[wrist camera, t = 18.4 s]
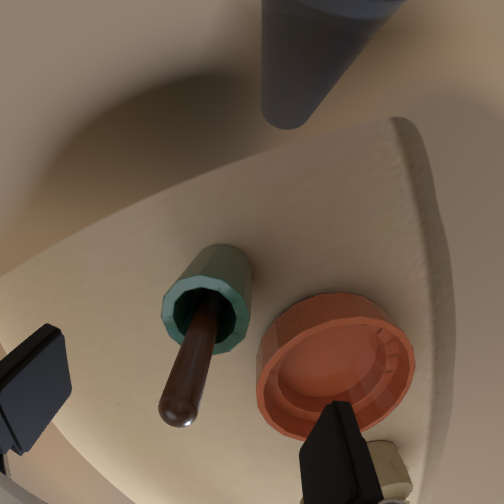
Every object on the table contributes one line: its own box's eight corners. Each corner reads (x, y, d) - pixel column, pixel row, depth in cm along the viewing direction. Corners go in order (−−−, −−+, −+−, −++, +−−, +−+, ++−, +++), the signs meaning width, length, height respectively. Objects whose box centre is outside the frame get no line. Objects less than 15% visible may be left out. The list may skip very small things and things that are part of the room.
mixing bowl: (278, 274, 26) (284, 300, 20) (410, 303, 26) (439, 329, 20) (243, 394, 29) (240, 433, 23) (359, 408, 30) (373, 443, 24)
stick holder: (198, 237, 25) (167, 265, 17) (258, 252, 25) (258, 287, 17) (188, 293, 27) (157, 342, 18) (244, 307, 27) (238, 363, 18)
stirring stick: (211, 266, 25) (153, 405, 10) (232, 271, 25) (196, 417, 10) (208, 284, 26) (153, 428, 11) (228, 289, 26) (192, 438, 11)
